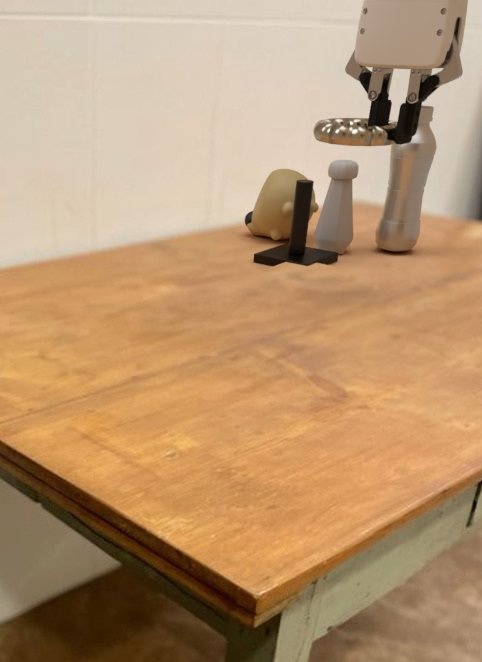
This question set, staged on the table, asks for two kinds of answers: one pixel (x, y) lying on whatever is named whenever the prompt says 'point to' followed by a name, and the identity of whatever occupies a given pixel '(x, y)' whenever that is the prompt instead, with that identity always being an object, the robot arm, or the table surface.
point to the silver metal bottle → (407, 187)
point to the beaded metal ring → (354, 132)
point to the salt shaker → (337, 208)
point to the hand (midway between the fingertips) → (389, 140)
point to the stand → (297, 236)
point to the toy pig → (276, 205)
